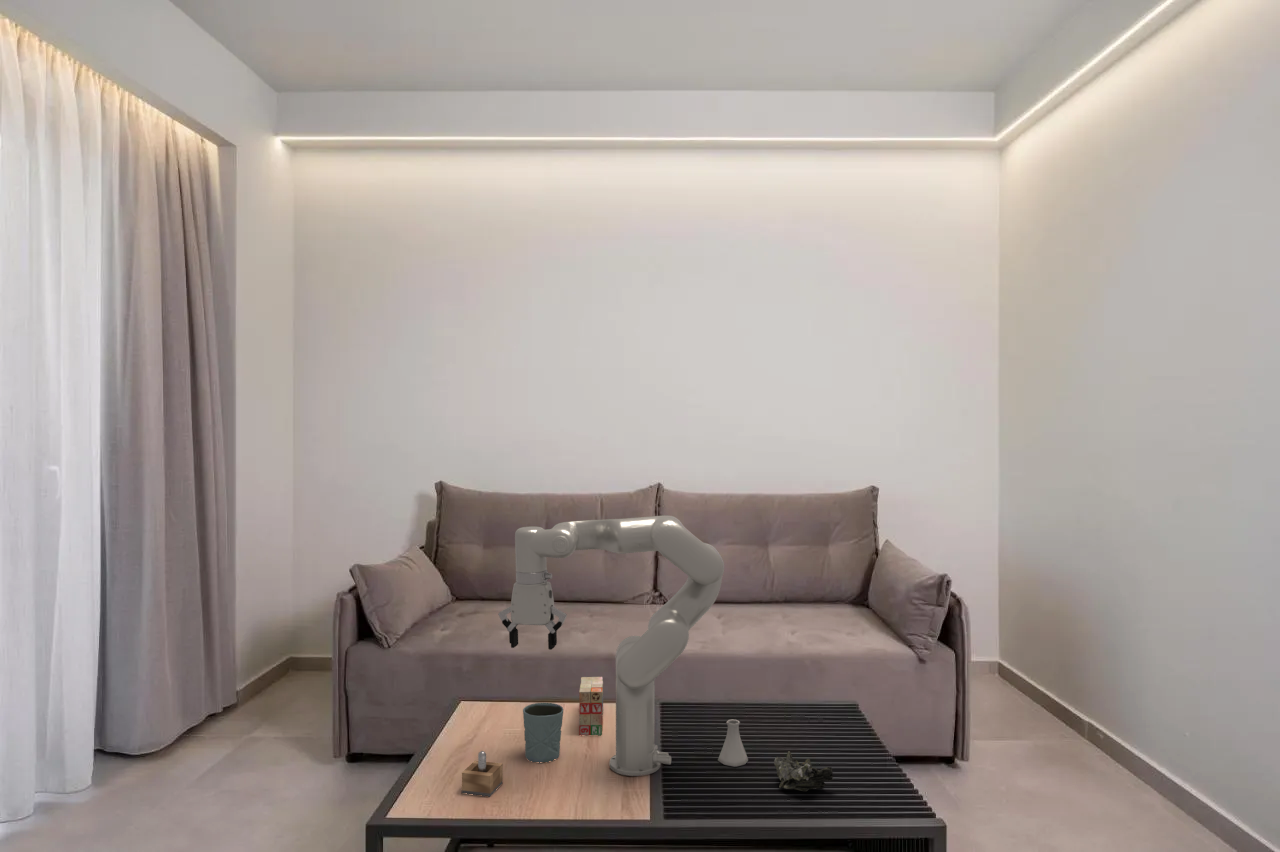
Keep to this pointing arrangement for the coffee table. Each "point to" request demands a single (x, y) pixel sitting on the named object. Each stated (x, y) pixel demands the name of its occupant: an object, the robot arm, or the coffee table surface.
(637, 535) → the robot arm
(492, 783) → the square wooden ring
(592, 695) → the stack of blocks
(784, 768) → the mineral specimen
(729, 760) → the flask
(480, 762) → the peg stand
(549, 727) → the teal cup
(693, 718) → the coffee table surface
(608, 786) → the coffee table surface
